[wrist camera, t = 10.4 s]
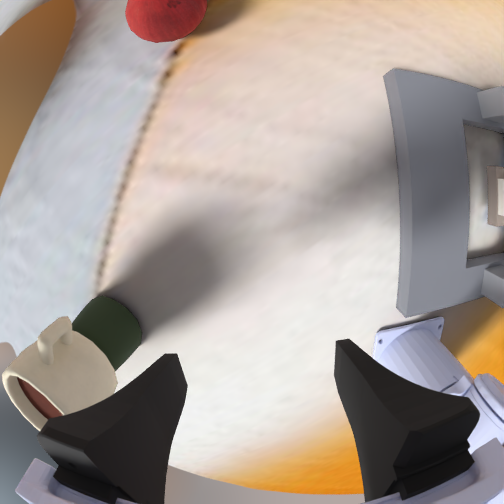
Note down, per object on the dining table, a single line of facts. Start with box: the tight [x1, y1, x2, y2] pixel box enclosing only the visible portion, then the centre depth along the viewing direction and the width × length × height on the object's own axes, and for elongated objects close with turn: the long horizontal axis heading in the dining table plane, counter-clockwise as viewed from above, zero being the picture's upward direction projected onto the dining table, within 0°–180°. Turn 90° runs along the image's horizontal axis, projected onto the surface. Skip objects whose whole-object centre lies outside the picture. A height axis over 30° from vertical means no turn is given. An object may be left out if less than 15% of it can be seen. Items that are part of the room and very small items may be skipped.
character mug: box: [2, 296, 142, 431], centre depth 17 cm, size 11×7×13 cm, turn 162°
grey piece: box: [383, 69, 504, 318], centre depth 16 cm, size 20×22×6 cm
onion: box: [125, 0, 207, 43], centre depth 12 cm, size 6×6×8 cm
